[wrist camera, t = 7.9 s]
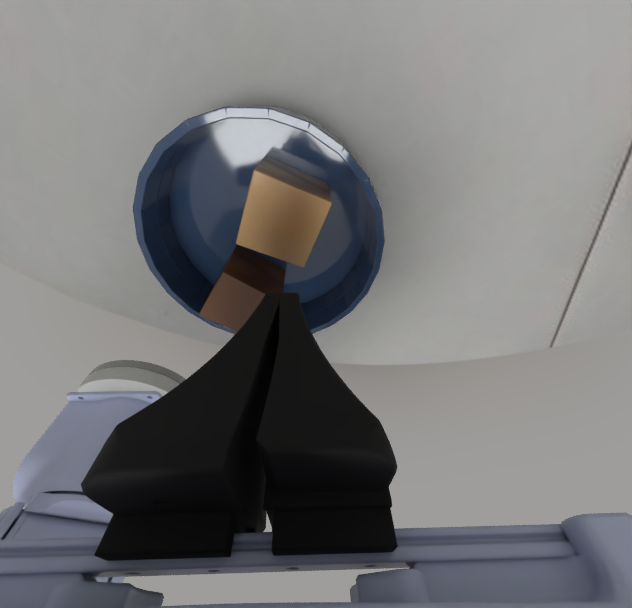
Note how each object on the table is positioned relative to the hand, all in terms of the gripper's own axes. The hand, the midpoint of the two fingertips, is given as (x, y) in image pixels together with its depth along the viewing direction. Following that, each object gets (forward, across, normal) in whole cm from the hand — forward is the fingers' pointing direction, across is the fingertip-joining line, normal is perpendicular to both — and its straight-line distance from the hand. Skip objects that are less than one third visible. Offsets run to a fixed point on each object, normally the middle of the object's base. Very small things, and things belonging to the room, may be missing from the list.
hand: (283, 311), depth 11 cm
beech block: (+9, 0, -2) cm, 9 cm away
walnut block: (+9, +3, +4) cm, 10 cm away
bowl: (+9, +2, 0) cm, 9 cm away
